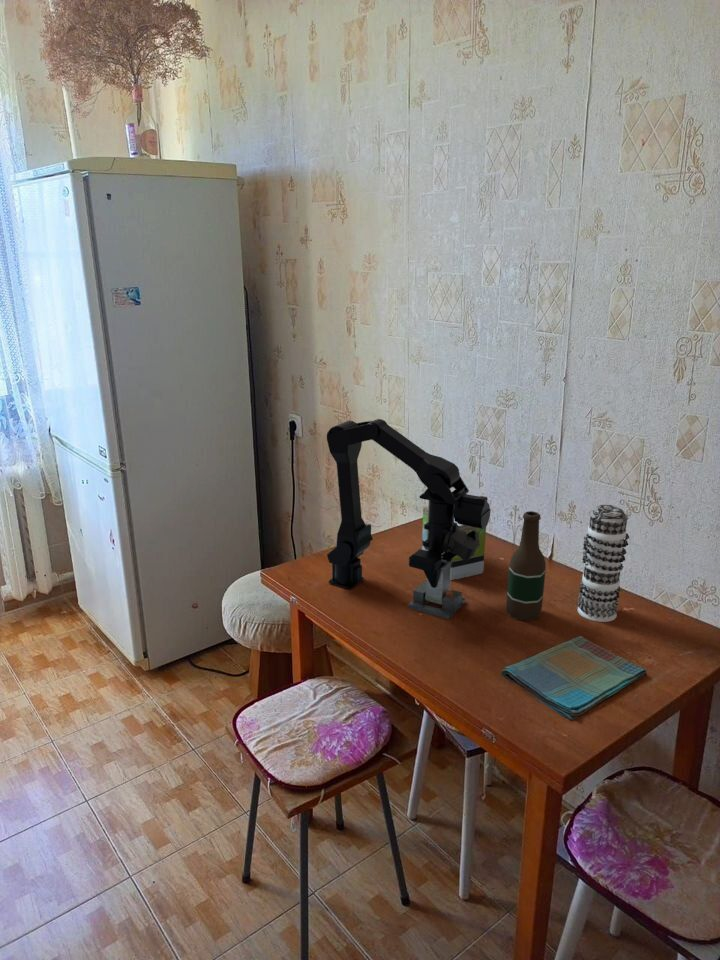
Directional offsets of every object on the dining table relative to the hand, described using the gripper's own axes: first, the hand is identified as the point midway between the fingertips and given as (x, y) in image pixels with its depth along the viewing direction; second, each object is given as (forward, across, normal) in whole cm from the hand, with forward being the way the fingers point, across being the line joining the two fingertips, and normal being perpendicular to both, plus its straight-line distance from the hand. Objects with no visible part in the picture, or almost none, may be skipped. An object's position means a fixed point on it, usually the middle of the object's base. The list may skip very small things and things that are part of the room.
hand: (438, 583), depth 163 cm
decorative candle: (+6, +16, -32) cm, 36 cm away
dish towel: (+6, -11, -34) cm, 37 cm away
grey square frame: (+6, 0, 0) cm, 6 cm away
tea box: (+6, +21, +6) cm, 23 cm away
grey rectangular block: (+4, 0, 0) cm, 4 cm away
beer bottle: (+6, +7, -18) cm, 20 cm away
